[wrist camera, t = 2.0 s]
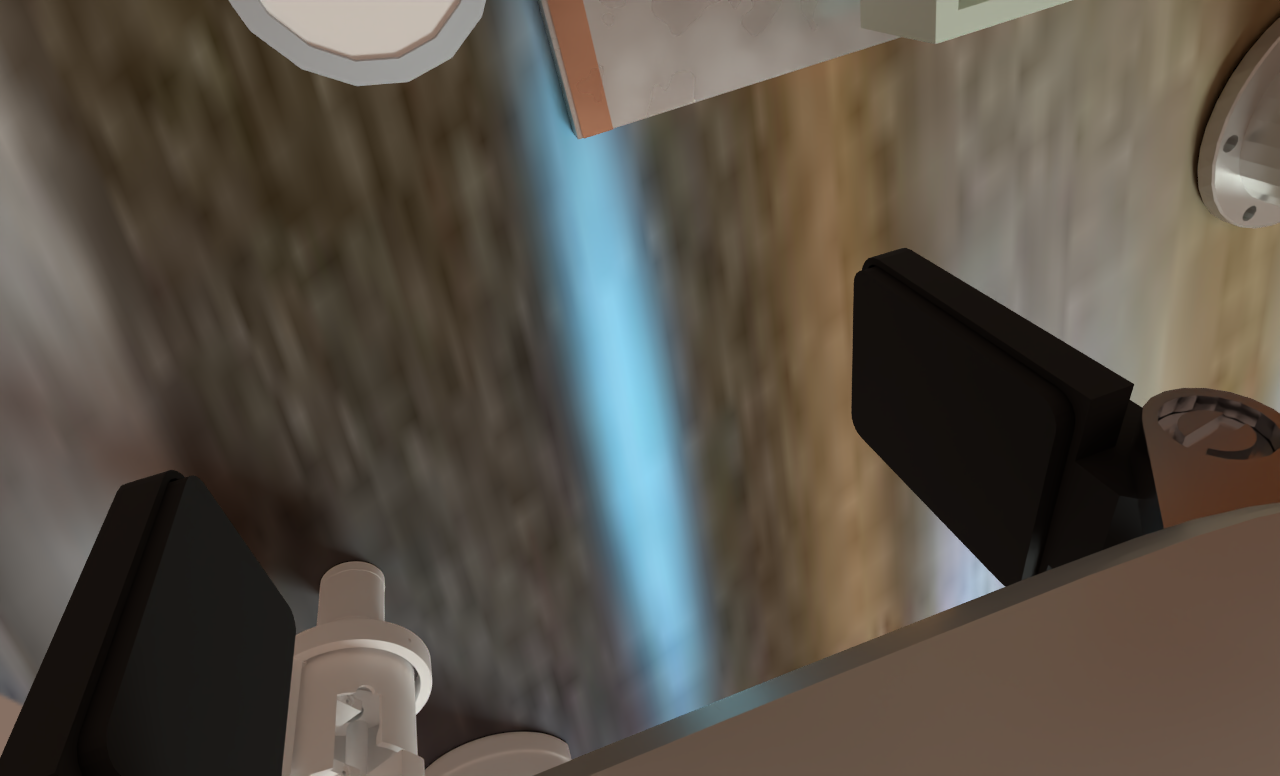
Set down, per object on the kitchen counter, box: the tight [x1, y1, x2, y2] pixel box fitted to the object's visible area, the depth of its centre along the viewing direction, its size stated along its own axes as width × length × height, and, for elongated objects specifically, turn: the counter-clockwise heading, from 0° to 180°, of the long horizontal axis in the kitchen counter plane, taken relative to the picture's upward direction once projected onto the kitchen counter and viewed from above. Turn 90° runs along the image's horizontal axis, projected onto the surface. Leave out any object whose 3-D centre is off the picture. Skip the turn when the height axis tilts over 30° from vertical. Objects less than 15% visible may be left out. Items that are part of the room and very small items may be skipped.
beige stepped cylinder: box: [282, 561, 432, 776], centre depth 31 cm, size 7×7×15 cm
